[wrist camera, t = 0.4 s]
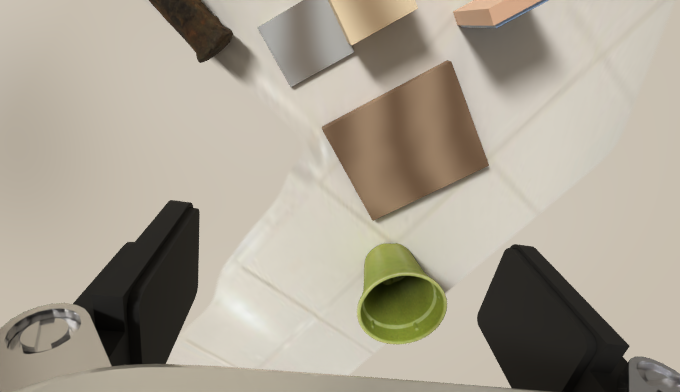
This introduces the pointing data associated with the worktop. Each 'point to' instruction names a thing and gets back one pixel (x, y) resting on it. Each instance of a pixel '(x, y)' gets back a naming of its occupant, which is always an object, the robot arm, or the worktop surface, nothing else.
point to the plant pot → (398, 297)
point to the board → (408, 141)
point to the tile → (492, 12)
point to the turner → (325, 32)
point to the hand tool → (195, 26)
